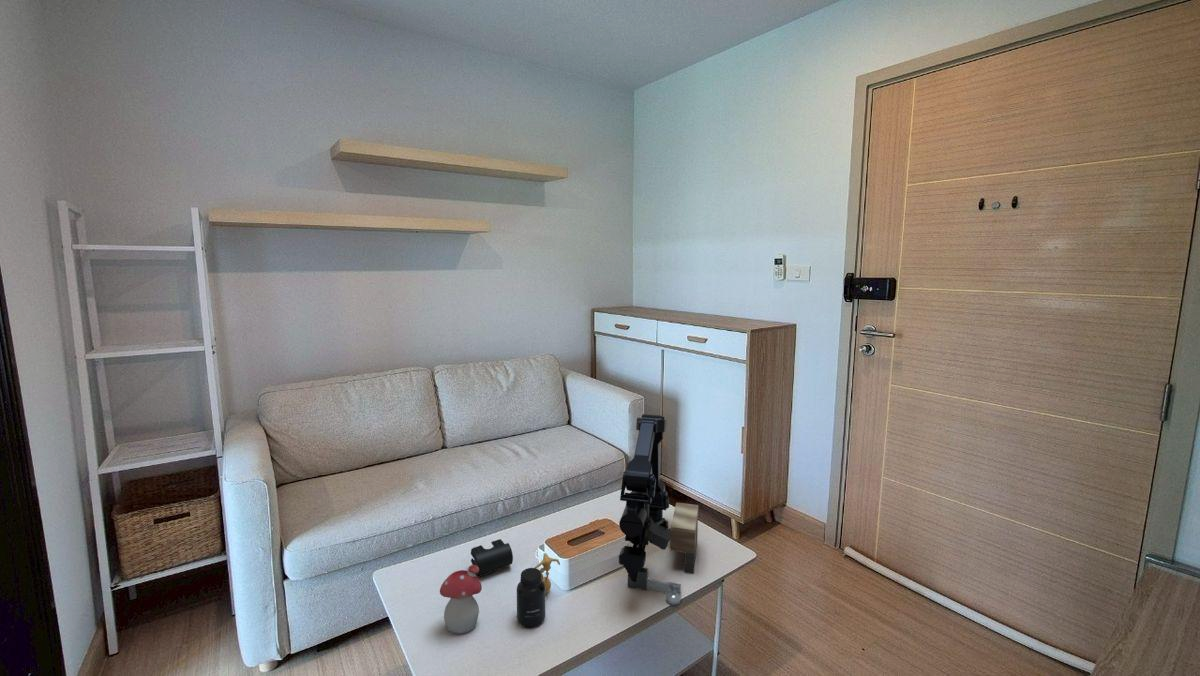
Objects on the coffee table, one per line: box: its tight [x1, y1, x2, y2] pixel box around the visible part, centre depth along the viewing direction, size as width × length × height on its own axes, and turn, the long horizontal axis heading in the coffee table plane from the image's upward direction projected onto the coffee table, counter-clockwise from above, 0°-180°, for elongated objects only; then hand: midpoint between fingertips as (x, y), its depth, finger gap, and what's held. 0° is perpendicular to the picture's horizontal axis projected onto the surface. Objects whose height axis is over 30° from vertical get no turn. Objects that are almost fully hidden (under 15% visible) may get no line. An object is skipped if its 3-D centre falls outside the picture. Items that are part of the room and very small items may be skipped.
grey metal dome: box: [665, 590, 682, 607], centre depth 126 cm, size 4×4×2 cm
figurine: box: [533, 552, 561, 594], centre depth 128 cm, size 8×6×12 cm
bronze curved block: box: [668, 502, 699, 575], centre depth 144 cm, size 14×7×13 cm, turn 165°
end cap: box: [470, 538, 514, 578], centre depth 139 cm, size 10×7×7 cm
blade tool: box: [627, 567, 682, 594], centre depth 131 cm, size 2×14×5 cm, turn 75°
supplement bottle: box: [516, 567, 546, 629], centre depth 119 cm, size 7×7×12 cm
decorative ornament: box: [439, 564, 483, 634], centre depth 117 cm, size 9×7×15 cm
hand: (637, 570), depth 131 cm, fingers open, 9 cm apart
